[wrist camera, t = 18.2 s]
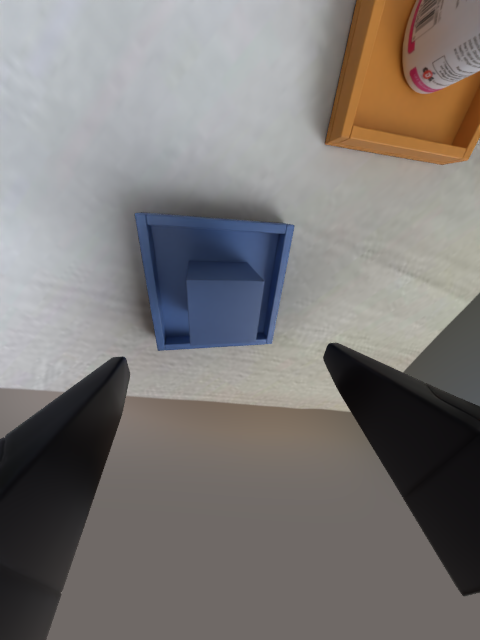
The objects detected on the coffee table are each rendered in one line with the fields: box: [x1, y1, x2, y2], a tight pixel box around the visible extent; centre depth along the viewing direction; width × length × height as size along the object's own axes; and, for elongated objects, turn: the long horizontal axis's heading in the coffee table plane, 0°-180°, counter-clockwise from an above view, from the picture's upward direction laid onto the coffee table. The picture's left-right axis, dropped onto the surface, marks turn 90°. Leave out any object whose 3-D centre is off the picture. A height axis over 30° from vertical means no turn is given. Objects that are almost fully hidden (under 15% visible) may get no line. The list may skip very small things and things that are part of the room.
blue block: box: [186, 261, 264, 346], centre depth 14 cm, size 4×4×4 cm
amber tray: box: [325, 0, 480, 165], centre depth 11 cm, size 10×10×2 cm
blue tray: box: [135, 212, 294, 351], centre depth 16 cm, size 10×10×2 cm
